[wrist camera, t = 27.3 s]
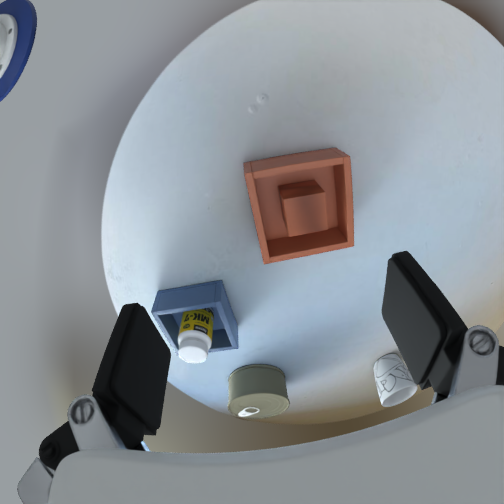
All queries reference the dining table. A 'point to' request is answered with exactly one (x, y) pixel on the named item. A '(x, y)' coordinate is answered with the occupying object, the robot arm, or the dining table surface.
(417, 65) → the dining table surface
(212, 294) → the blue bin
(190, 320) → the supplement bottle
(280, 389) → the can
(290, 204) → the block
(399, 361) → the mug
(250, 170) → the terracotta bin
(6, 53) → the robot arm
